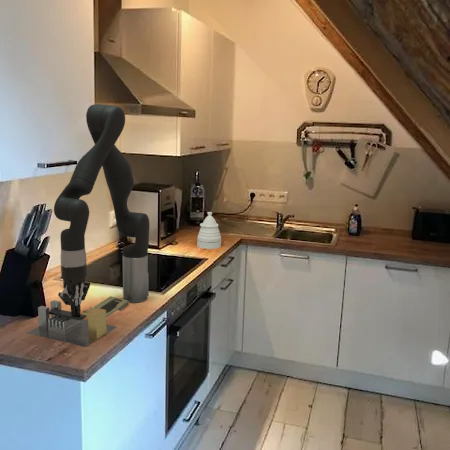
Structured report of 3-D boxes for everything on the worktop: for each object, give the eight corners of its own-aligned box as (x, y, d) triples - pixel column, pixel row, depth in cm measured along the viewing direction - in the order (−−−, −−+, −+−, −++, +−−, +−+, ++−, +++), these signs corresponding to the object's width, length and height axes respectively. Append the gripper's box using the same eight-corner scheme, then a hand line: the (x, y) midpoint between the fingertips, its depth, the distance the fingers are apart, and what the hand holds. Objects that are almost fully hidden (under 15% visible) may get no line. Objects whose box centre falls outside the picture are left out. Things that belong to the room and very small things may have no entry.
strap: (52, 310, 163) (52, 307, 163) (86, 317, 158) (86, 314, 158) (45, 313, 160) (45, 310, 160) (79, 321, 155) (79, 318, 155)
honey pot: (197, 242, 276) (197, 210, 273) (220, 243, 277) (221, 211, 273) (197, 248, 264) (197, 215, 260) (221, 249, 265) (222, 215, 261)
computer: (106, 322, 170) (106, 313, 169) (85, 319, 172) (85, 310, 171) (128, 306, 184) (128, 297, 183) (109, 303, 187) (109, 295, 186)
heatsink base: (61, 318, 171) (60, 295, 169) (117, 330, 163) (116, 306, 161) (26, 336, 156) (25, 311, 155) (86, 350, 148) (85, 324, 146)
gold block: (92, 329, 160) (91, 306, 158) (106, 333, 158) (106, 309, 156) (82, 336, 155) (81, 312, 153) (96, 339, 153) (96, 315, 151)
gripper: (77, 256, 161) (79, 307, 165) (48, 266, 149) (51, 321, 153) (97, 258, 159) (98, 310, 162) (69, 270, 147) (71, 325, 150)
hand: (75, 315), depth 157 cm, fingers closed
